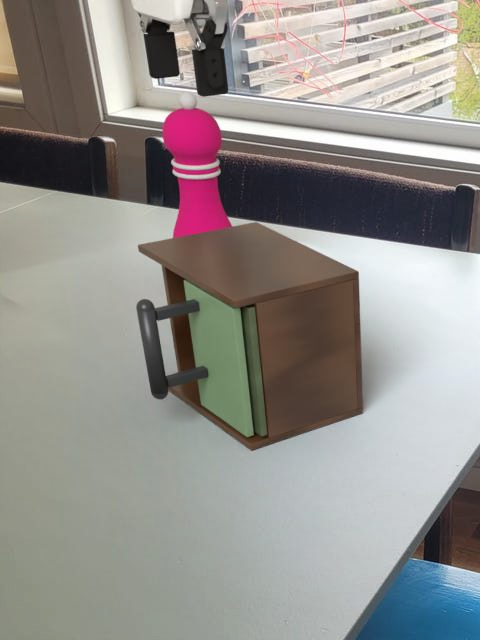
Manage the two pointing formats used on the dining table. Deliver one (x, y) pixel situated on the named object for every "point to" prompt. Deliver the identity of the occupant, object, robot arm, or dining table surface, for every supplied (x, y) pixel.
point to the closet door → (203, 354)
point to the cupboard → (272, 325)
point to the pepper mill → (195, 167)
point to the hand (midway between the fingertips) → (188, 85)
